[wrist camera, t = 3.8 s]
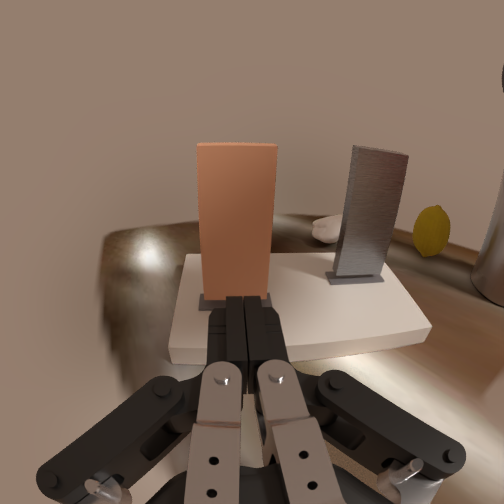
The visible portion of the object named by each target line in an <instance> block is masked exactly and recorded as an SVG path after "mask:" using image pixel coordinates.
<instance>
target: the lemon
mask: <svg viewBox="0 0 504 504" xmlns="http://www.w3.org/2000/svg"><path fill="white" fill-rule="evenodd" d="M449 235H450V220H449V217H448V215H447V214H446V213H445V211H444V210H443V209H442V208H441V206H439V205H436V206H432V207H428V208H426V209H424V210H423V211H422V212H421V213H420V214H419V216H418V218H417V220H416V222H415V225H414V229H413V242H414V245H415V247H416V248H417V250H418V251H419V252H420V253H421V255H422V256H423V257H427V256H433V255H436V254H438V253H440V252H441V251H442V250H443V249H444V247H445V246H446V244H447V242H448V239H449Z"/></svg>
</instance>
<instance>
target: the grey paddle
mask: <svg viewBox="0 0 504 504" xmlns="http://www.w3.org/2000/svg"><path fill="white" fill-rule="evenodd" d="M408 158H409V156H408V155H406V154H403V153H400V152H394V151H389V150H383V149H376V148H370V147H363V146H356V145H353V149H352V157H351V165H350V172H349V179H348V186H347V193H346V199H345V205H344V211H343V217H342V222H341V228H340V233H339V238H338V243H337V248H336V253H335V258H334V263H333V268H332V269H333V271H334V273H335V275H336V276H342V275H367V274H381V271H382V268H383V265H384V261H385V258H386V254H387V251H388V247H389V244H390V240H391V236H392V233H393V229H394V225H395V221H396V217H397V213H398V208H399V204H400V199H401V195H402V190H403V185H404V180H405V175H406V169H407V164H408Z"/></svg>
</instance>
